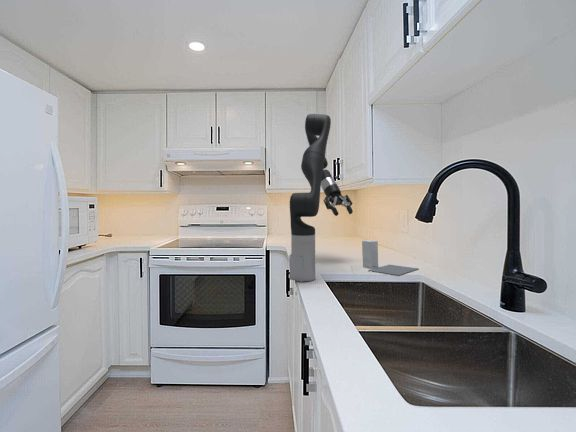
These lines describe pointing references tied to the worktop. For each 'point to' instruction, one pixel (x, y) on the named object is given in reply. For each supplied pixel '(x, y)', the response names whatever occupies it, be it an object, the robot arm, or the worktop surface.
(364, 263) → the skincare box
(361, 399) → the worktop surface
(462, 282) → the worktop surface
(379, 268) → the slate mat
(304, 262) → the robot arm
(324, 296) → the worktop surface
